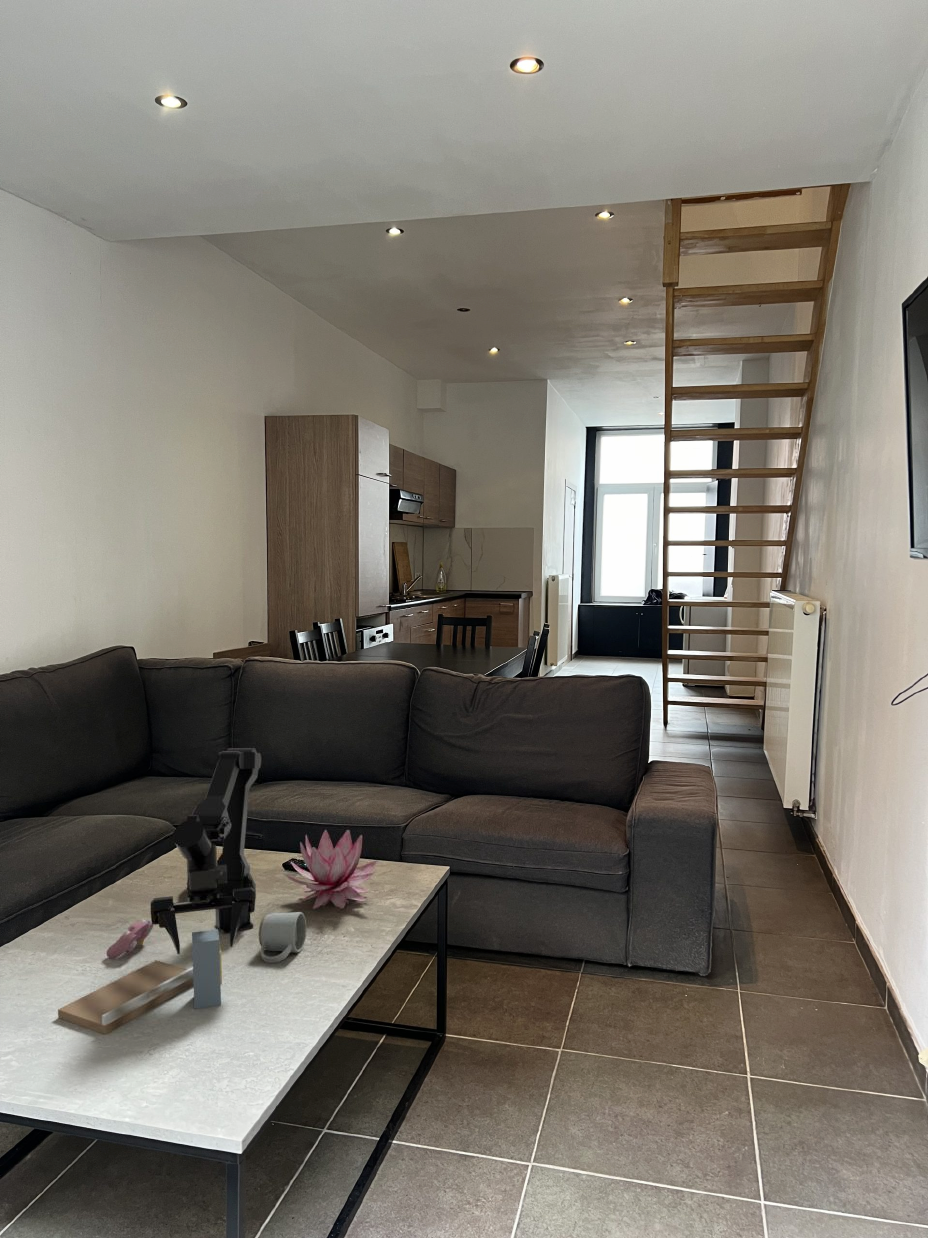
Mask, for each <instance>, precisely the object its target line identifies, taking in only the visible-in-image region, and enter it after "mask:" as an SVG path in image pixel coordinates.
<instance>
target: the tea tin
mask: <svg viewBox="0 0 928 1238" xmlns="http://www.w3.org/2000/svg"><path fill="white" fill-rule="evenodd" d="M191 939H192V940H191V943H192V944H191V945H192V946H191V947H192V952H191V953H192V967H193V984H194V985H193V1008H194V1010H197V1009H198V1010H200V1009H205V1008H206V1009H207V1008H211V1007H217V1006H222V995H221V994H222V993H221V991H222V990H221V986H222V985H223V971H222V969H223V968H222V948H221V943H220V936H219V929H218V928H217V929H209V930H200V931H193V932H191Z"/></svg>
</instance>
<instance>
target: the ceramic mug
mask: <svg viewBox="0 0 928 1238" xmlns="http://www.w3.org/2000/svg"><path fill="white" fill-rule="evenodd" d="M306 938H307V921H306V916H305V915H304V913H303V912H301V911H298V912H297V911H294V912H275V913H269V914H266V915H264V916H263V918H262V919H261V920H260V923H259V927H258V942H259V946H260V955H261V958H262V960H263V961H264V962H266V963H270V964H276V963H279V962H282V961H283V960H284V959H286V958H287V957H288V956H289V955H290V953H301V952H302V950H303V948H304V946H305V942H306ZM265 951H272V952H280V953H279V954H278V955H275V956H268V955H266V954H265Z"/></svg>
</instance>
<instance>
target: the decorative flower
mask: <svg viewBox="0 0 928 1238" xmlns="http://www.w3.org/2000/svg"><path fill="white" fill-rule="evenodd" d="M299 846H300V853H301V857H302V859H303V862H304V864H305V865H306V867H307V869H308V870H309V871H307V870H305V869H303V868H301V867H299V866H298V865H297V864H296V863H294V862H292V861H290V863H291V864H290V865H292V866H293V868H294V869H295V870H296V872H297V873H299V875H301V877H303V878H305V879H308V880H309V881H310V882H307V881H303V880H298V879H296V878H293V877H292V876H290V875H287V874H284V876H285V877H286V878H288V879H289V880H290V881H293V882H295V883H296V884H299V885H304V886H305V888H307V889H308V890H301V892H302V893H304V894H305V893H306V894H307V893H311V892H312V893H311V894H309V895H308V896H305V897H304V898H301V899H299V900H297V902H306V901H309V900H311V899H312V898H315V897H316V900H315V902H314V905H313V907H312V909H317V908H319V907H320V906H322V908H324V907H326V905H327V904H329V902H330V901H331V903H332V904H333V905H334V906H335V907H336V908H341V909H343V908H344V907H345V905H346V904H350V903H349V900H352V901H353V900H355V901H361V902H362V901H363V902H364V901H366V898H365V897H364V896H363V895H361V894H360V893H363V892H368V891H369V889H368V888H363V887H359V886H360V885H361V884H363V883H365V882H366V881H368V880H370V878H372V876H373V875H375V874H376V872H375V871H374V872H372V871H373V870H374V868H375V866H376V865H377V864H378V862H379V860H378V859H377V860H374V861H371V862H369V863H366V864H363V865H360V866H358V865H359V862H360V857H361V854H362V849H363V848H362V847H363V835H362V834H360V835H359V837H358V838H357V839H356V840H355V842H354V843H353V841H352V835H351V831H350V830H349V829H347V830H346V831H345V832H344V834H343V835H342V836H341V837H340V839H339V841H337V843H336V845H335V847H334V845H333V843H332V840H331V837H330V834H329V833H328V831H327V829H325V830H324V831H323V833H322V835H321V838H320V841H319V844H318V846H317V847H318V848H316V847H314V846H313V847H312V845H311V843H310V841H309V837H308V835H307V834H305V846H304V844H303V843H302V842H301V841H300V842H299ZM371 872H372V873H371Z"/></svg>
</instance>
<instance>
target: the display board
mask: <svg viewBox="0 0 928 1238" xmlns="http://www.w3.org/2000/svg"><path fill="white" fill-rule="evenodd" d="M192 986H194V984H193V966H192V967H189V968H185V967H183V966H182V967H181V966H178V965H174V964H171V963H167V962H163V961H160V960H156V959H155V960H154V961H152V962H150V963H147V964H146V965H144V966H142V967H140V968H137V969H136V970H134V971H131V972H130V973H128V974H126V975H124V976H122V977H120V978H118V979H116V980H114V981H112V982H110V983H108V984H106V985H103V986H102V987H101V988H98V989H96V990H94V991H93V992H91V993H88V994H86V995H84V996H82V997H80V998H78V999H76V1000H75V1001H73V1002H70V1003H68V1004H66V1005H64V1006H62V1007H60V1008H58V1009H57V1017H58V1019H60V1020H63V1021H66V1022H69V1023H72V1024H75V1025H78V1026H81V1027H83V1028H87V1029H89V1030H92V1031H95V1032H98V1033H100V1034H104V1035H106V1034H108V1033H110V1032H112V1031H113V1030H115V1029H117V1028H119V1027H121V1026H123V1025H124V1024H127V1023H128V1022H130V1021H132V1020H133V1019H135V1018H137V1017H139V1016H140V1015H143V1014H144V1013H146V1012H148V1011H150V1010H151V1009H153V1008H155V1007H157V1006H159V1005H161V1004H162V1003H164V1002H166V1001H167V1000H169V999H171V998H172V997H175V996H176V995H178V994H180V993H182V992H183V991H186V989H189V988H190V987H192Z"/></svg>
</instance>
